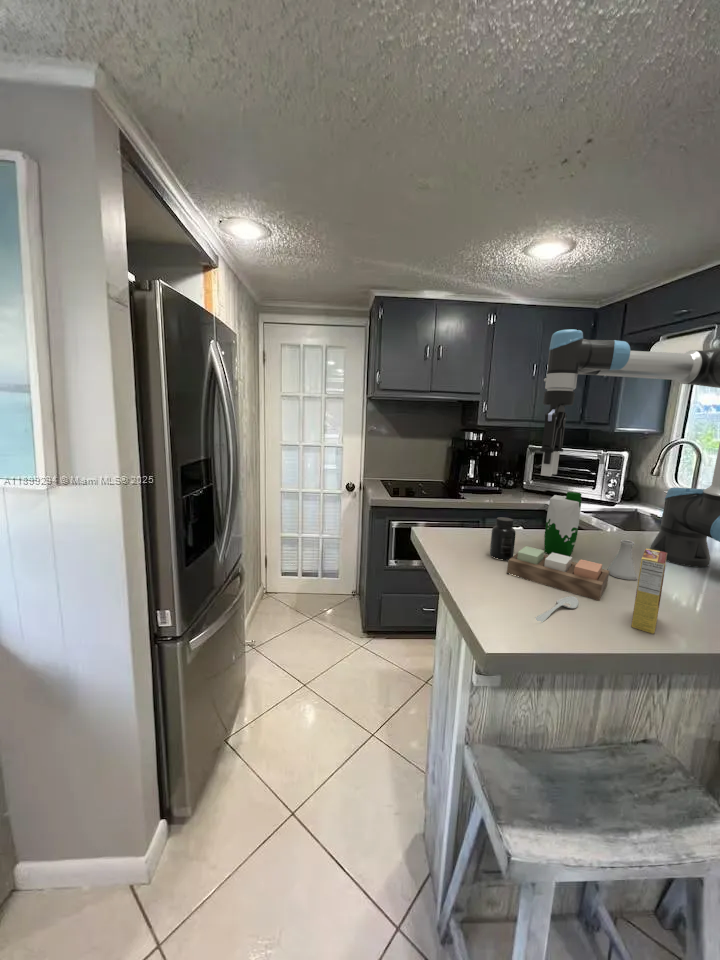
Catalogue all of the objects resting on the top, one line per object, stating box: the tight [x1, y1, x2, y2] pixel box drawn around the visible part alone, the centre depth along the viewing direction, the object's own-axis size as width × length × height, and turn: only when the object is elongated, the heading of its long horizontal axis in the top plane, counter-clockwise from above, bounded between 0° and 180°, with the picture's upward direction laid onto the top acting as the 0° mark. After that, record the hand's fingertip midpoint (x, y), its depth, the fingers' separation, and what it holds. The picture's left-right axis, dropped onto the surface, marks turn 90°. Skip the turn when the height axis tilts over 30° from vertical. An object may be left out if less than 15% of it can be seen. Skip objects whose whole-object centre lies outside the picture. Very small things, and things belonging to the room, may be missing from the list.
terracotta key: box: [574, 559, 603, 581], centre depth 100 cm, size 5×7×4 cm
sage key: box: [517, 545, 545, 564], centre depth 109 cm, size 5×7×4 cm
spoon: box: [535, 596, 580, 623], centre depth 87 cm, size 4×21×2 cm, turn 127°
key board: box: [506, 552, 610, 601], centre depth 105 cm, size 22×12×4 cm, turn 50°
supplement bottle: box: [489, 516, 517, 561], centre depth 119 cm, size 7×7×12 cm
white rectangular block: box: [544, 552, 573, 572], centre depth 104 cm, size 5×7×4 cm
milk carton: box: [543, 491, 582, 557], centre depth 125 cm, size 9×9×20 cm
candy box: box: [630, 548, 667, 635], centre depth 83 cm, size 9×4×15 cm, turn 140°
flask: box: [606, 539, 638, 581], centre depth 109 cm, size 7×7×10 cm
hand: (548, 474), depth 111 cm, fingers open, 5 cm apart
